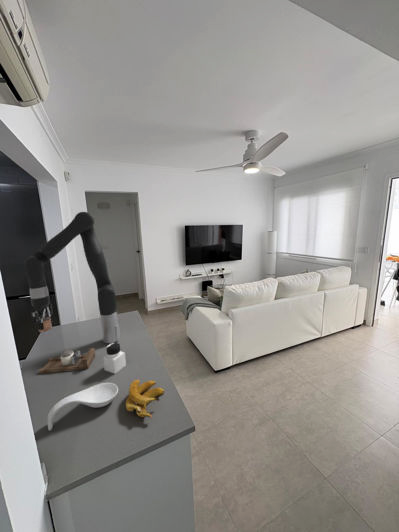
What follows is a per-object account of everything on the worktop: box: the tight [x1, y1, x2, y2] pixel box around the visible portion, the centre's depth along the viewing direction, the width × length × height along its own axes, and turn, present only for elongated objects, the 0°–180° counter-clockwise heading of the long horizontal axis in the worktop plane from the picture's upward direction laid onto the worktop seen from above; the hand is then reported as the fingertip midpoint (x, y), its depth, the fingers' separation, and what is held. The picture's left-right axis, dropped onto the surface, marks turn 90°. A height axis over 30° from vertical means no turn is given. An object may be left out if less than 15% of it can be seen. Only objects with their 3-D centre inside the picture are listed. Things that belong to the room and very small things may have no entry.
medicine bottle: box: [102, 342, 127, 375], centre depth 103 cm, size 7×7×12 cm
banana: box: [125, 379, 165, 420], centre depth 83 cm, size 15×19×6 cm
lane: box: [38, 347, 96, 374], centre depth 107 cm, size 22×10×5 cm, turn 97°
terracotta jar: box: [38, 316, 53, 333], centre depth 111 cm, size 6×6×6 cm
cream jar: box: [60, 349, 75, 367], centre depth 107 cm, size 6×6×6 cm
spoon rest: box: [47, 382, 119, 432], centre depth 80 cm, size 24×12×7 cm, turn 130°
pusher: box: [72, 350, 81, 366], centre depth 107 cm, size 1×7×5 cm, turn 7°
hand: (45, 326), depth 112 cm, fingers closed on terracotta jar, 5 cm apart
